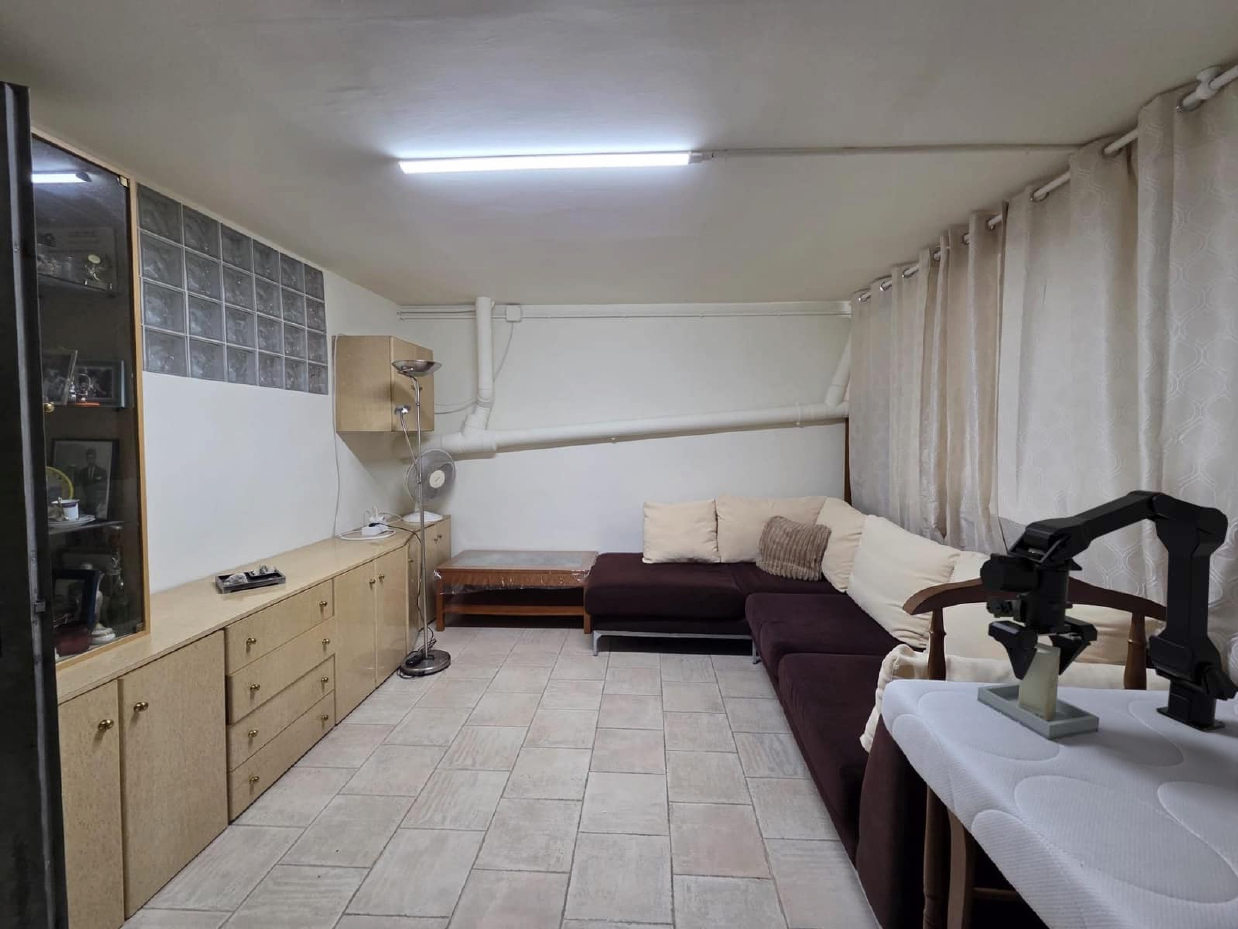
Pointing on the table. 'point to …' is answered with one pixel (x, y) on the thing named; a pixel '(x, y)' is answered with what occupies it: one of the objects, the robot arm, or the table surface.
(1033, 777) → the table surface
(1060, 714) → the sorting tray
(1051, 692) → the skincare box
